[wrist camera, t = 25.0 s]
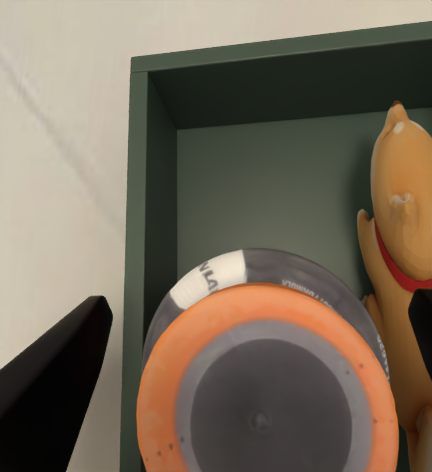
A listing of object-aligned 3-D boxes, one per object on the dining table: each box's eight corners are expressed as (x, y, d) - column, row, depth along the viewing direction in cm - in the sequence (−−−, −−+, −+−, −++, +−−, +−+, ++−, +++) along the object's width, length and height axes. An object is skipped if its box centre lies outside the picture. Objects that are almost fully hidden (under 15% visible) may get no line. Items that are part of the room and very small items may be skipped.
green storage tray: (519, 556, 13) (706, 748, 8) (165, 530, 15) (113, 669, 10) (443, 98, 17) (533, 7, 11) (166, 124, 19) (130, 56, 13)
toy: (403, 134, 16) (463, 67, 11) (459, 508, 13) (573, 637, 8) (337, 141, 17) (366, 80, 12) (376, 502, 14) (438, 621, 9)
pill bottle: (190, 279, 16) (53, 260, 5) (301, 256, 16) (407, 181, 5) (211, 398, 15) (95, 691, 4) (332, 378, 15) (565, 651, 4)
